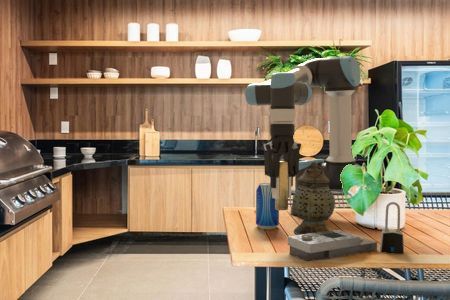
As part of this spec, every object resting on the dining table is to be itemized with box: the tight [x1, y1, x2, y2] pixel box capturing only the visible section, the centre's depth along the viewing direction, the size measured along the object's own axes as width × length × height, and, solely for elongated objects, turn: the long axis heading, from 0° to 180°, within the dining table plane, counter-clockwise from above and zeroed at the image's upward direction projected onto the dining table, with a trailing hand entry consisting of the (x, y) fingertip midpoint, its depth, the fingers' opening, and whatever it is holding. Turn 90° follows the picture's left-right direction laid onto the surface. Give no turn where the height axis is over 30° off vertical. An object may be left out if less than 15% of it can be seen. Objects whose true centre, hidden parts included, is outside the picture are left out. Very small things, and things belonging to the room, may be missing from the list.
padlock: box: [379, 201, 405, 255], centre depth 137 cm, size 7×4×15 cm, turn 75°
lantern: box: [292, 162, 336, 235], centre depth 159 cm, size 14×14×25 cm
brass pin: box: [275, 160, 289, 211], centre depth 143 cm, size 4×4×15 cm
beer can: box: [255, 182, 280, 230], centre depth 168 cm, size 8×8×16 cm
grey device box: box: [287, 229, 378, 262], centre depth 136 cm, size 26×10×6 cm, turn 119°
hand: (281, 197), depth 144 cm, fingers closed on brass pin, 4 cm apart
